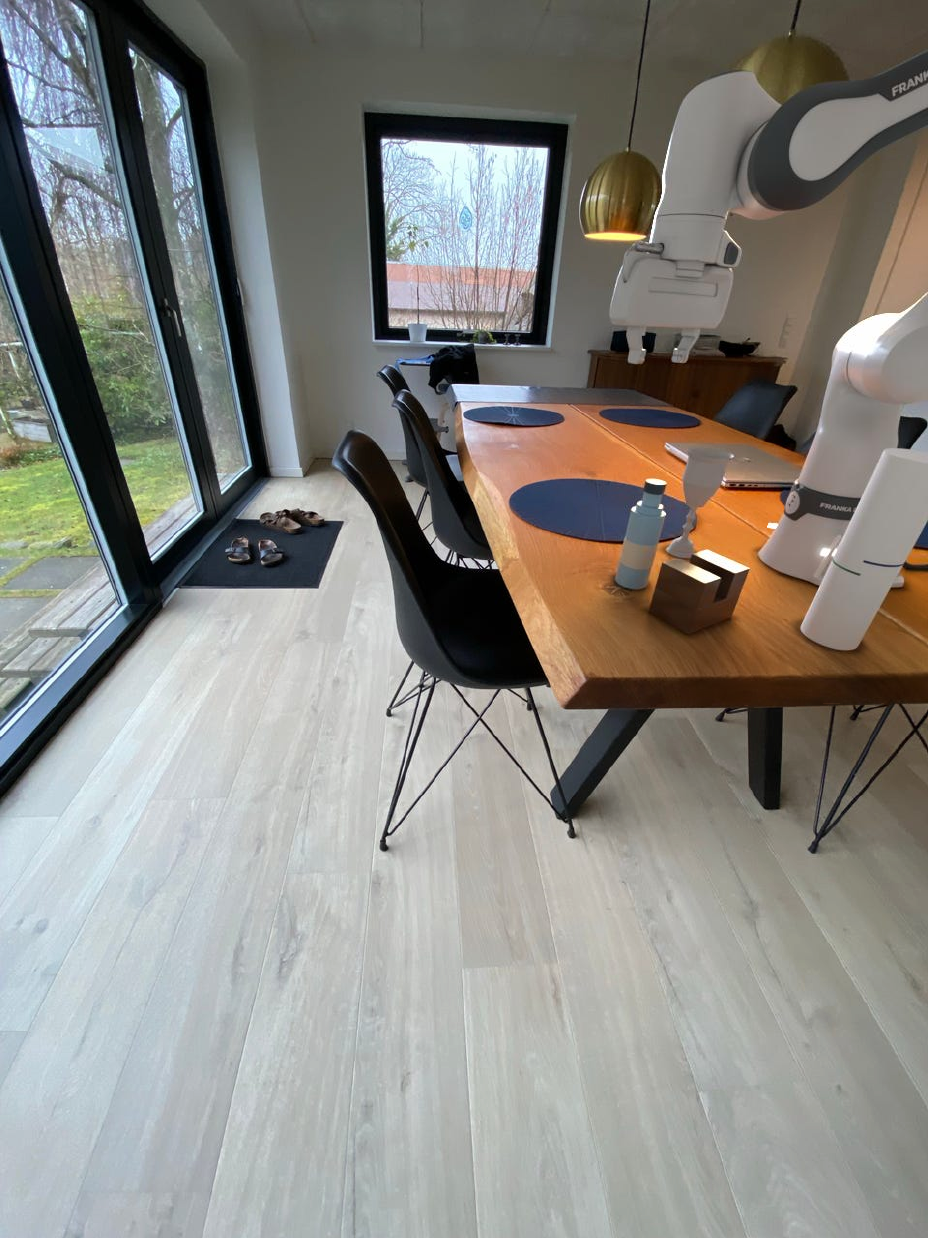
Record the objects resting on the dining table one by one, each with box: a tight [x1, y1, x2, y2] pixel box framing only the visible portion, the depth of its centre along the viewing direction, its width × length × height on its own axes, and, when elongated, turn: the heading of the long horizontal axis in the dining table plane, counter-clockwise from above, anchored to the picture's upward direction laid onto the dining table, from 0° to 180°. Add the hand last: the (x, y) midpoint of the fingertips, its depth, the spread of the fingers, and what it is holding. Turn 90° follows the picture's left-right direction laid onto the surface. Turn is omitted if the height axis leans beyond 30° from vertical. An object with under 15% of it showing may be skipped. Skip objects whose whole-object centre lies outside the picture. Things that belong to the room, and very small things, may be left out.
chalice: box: [666, 446, 734, 559], centre depth 91 cm, size 7×7×18 cm
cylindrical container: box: [800, 447, 928, 651], centre depth 67 cm, size 7×7×25 cm
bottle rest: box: [648, 549, 751, 635], centre depth 74 cm, size 7×10×8 cm
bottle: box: [614, 478, 668, 590], centre depth 80 cm, size 14×5×14 cm
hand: (657, 362), depth 76 cm, fingers open, 8 cm apart
